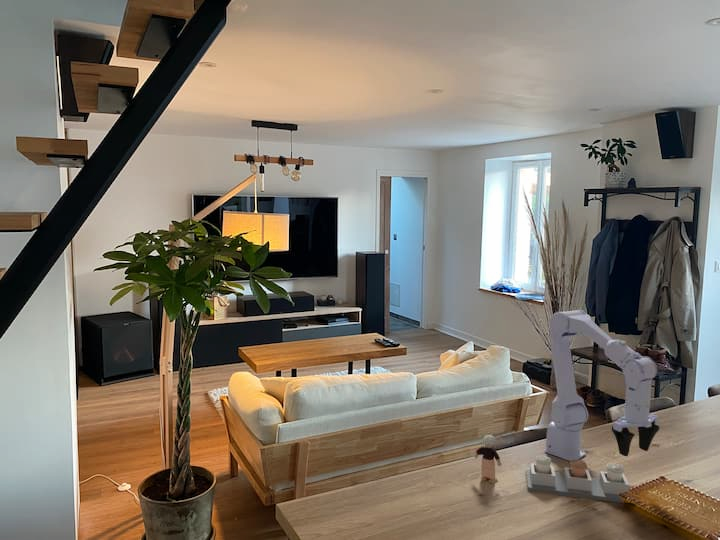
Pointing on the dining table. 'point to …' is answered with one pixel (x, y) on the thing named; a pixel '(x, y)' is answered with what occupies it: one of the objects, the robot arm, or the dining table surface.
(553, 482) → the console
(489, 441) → the grandmother figurine
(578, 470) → the middle knob
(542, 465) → the knob
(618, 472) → the knob
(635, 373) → the robot arm
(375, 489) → the dining table surface
